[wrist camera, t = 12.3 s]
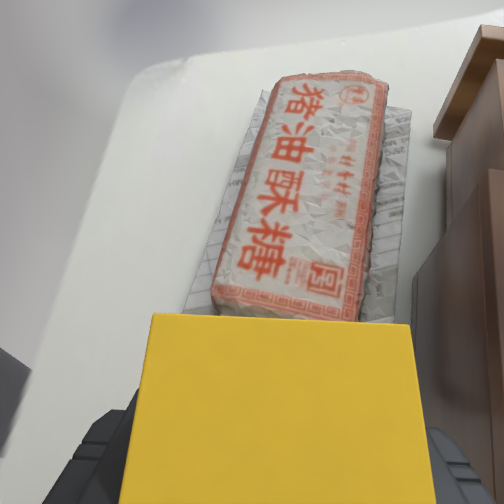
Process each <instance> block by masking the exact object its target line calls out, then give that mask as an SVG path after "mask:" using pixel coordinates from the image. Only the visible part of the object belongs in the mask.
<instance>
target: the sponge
mask: <svg viewBox="0 0 504 504" xmlns="http://www.w3.org/2000/svg"><path fill="white" fill-rule="evenodd" d="M118 504H436V498H435V491H434V484H433V478H432V471H431V464H430V457H429V451H428V444H427V437H426V431H425V424H424V417H423V410H422V404H421V397H420V390H419V383H418V377H417V370H416V363H415V356H414V350H413V343H412V336H411V330H410V326H409V325H407V324H387V323H365V322H343V321H321V320H299V319H278V318H256V317H234V316H212V315H191V314H169V313H154V314H153V316H152V320H151V326H150V331H149V337H148V343H147V348H146V354H145V359H144V365H143V370H142V376H141V381H140V387H139V392H138V398H137V403H136V409H135V414H134V420H133V425H132V431H131V436H130V442H129V447H128V453H127V458H126V464H125V469H124V475H123V480H122V486H121V491H120V497H119V503H118Z"/></svg>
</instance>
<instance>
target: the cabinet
mask: <svg viewBox="0 0 504 504" xmlns="http://www.w3.org/2000/svg"><path fill="white" fill-rule="evenodd" d="M411 336H412V343H413V350H414V356H415V363H416V370H417V377H418V383H419V390H420V397H421V404H422V410H423V417H424V424H425V426H426V427H438V428H439V429H440V430H442V431H443V432H444V433H445V434H447V435H448V436H449V437H450V438H451V439H453V440H454V441H455V442H456V443H458V445H459V446H460V448H461V449H462V451H463V452H464V454H465V455H466V457H467V458H468V460H469V462H470V465H471V467H473V468H474V469H475V471H476V472H477V474H478V475H479V477H480V478H481V483H484V485H485V486H486V488H487V489H488V491H489V492H490V494H491V495H492V497H493V498H494V500H495V502H496V503H497V504H504V171H500V170H494V169H487V171H486V172H485V174H484V175H483V177H482V178H481V180H480V181H479V183H478V184H477V186H476V187H475V189H474V190H473V192H472V193H471V194H470V196H469V197H468V199H467V200H466V202H465V203H464V205H463V206H462V208H461V209H460V211H459V212H458V214H457V215H456V217H455V218H454V220H453V221H452V223H451V224H450V225H449V227H448V228H447V230H446V231H445V233H444V234H443V236H442V237H441V239H440V240H439V242H438V243H437V245H436V246H435V248H434V249H433V251H432V252H431V253H430V255H429V256H428V258H427V259H426V261H425V262H424V264H423V265H422V267H421V268H420V270H419V271H418V272H417V274H416V275H415V277H414V278H413V296H412V320H411Z"/></svg>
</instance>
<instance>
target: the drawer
mask: <svg viewBox="0 0 504 504" xmlns="http://www.w3.org/2000/svg"><path fill="white" fill-rule="evenodd" d="M433 137H434V138H438V139H444V140H450V141H452V142H451V144H450V146H449V148H448V149H447V151H446V172H447V228H448V227H449V225H450V224H451V223H452V221H453V220H454V218H455V217H456V215H457V214H458V212H459V211H460V209H461V208H462V206H463V205H464V203H465V202H466V200H467V199H468V197H469V196H470V194H471V193H472V192H473V190H474V189H475V187H476V186H477V184H478V183H479V181H480V180H481V178H482V177H483V175H484V174H485V172H486V171H487V169H494V170H500V171H504V27H498V26H491V25H483V24H482V25H480V27H479V29H478V31H477V33H476V35H475V37H474V39H473V42H472V44H471V46H470V48H469V50H468V52H467V54H466V57H465V59H464V61H463V63H462V65H461V67H460V69H459V72H458V74H457V76H456V78H455V80H454V82H453V84H452V87H451V89H450V91H449V93H448V95H447V97H446V99H445V102H444V104H443V106H442V108H441V110H440V112H439V115H438V117H437V119H436V121H435V123H434V125H433Z"/></svg>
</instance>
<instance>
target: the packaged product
mask: <svg viewBox="0 0 504 504" xmlns="http://www.w3.org/2000/svg"><path fill="white" fill-rule="evenodd" d="M388 91H389V85H388V83H387V82H384V81H382V80H379V79H375V78H373V77H372V76H371V75H370V74H367V73H364V72H361V71H355V70H344V71H340V72H330V73H319V74H314V75H313V74H308V75H306V74H305V73H303V74H298V75H292V76H287V77H282V78H281V79H280V80H279V81H278V82H277V83H276V84H275V86H274V88H273V90H272V91H271V93H269V92H267V91H264V90H263V89H262V93H261V96H260V99H259V101H258V104H257V106H256V108H255V111H254V114H253V116H252V119H251V123H250V127H249V129H248V132H247V135H246V137H245V140H244V142H243V145H242V148H241V151H240V153H239V156H238V159H237V162H236V164H235V167H234V170H233V173H232V176H231V179H230V181H229V184H228V186H227V189H226V192H225V195H224V197H223V200H222V205H221V211H220V216H219V217H218V218H217V219H216V221H215V224H214V227H213V230H212V232H211V235H210V237H209V240H208V243H207V246H206V249H205V252H204V256H203V260H202V262H201V264H200V267H199V269H198V272H197V275H196V277H195V280H194V283H193V285H192V288H191V291H190V294H189V297H188V300H187V302H186V305H185V307H184V310H183V313H182V314H191V315H212V316H234V317H256V318H278V319H299V320H321V321H343V322H365V323H387V324H394V312H395V298H396V287H397V273H398V261H399V252H400V244H401V235H402V217H403V208H404V192H405V177H406V169H407V160H408V146H409V136H410V121H411V114H412V110H409V109H403V108H397V107H388V106H386V105H387V95H388Z"/></svg>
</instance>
